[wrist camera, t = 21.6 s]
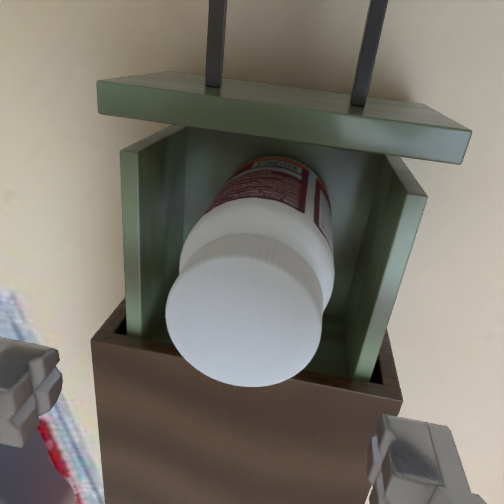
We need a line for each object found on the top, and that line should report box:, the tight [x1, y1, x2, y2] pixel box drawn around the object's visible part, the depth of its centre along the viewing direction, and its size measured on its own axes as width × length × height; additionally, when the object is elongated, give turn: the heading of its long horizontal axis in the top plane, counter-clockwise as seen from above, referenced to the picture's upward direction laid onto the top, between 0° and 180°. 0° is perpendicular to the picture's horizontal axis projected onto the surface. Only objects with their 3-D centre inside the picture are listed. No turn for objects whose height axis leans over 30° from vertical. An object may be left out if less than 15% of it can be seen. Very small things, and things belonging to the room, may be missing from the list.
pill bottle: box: [165, 156, 335, 387], centre depth 18 cm, size 6×6×11 cm
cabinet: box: [91, 298, 403, 504], centre depth 26 cm, size 15×15×10 cm
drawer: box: [97, 0, 472, 382], centre depth 20 cm, size 19×13×8 cm
